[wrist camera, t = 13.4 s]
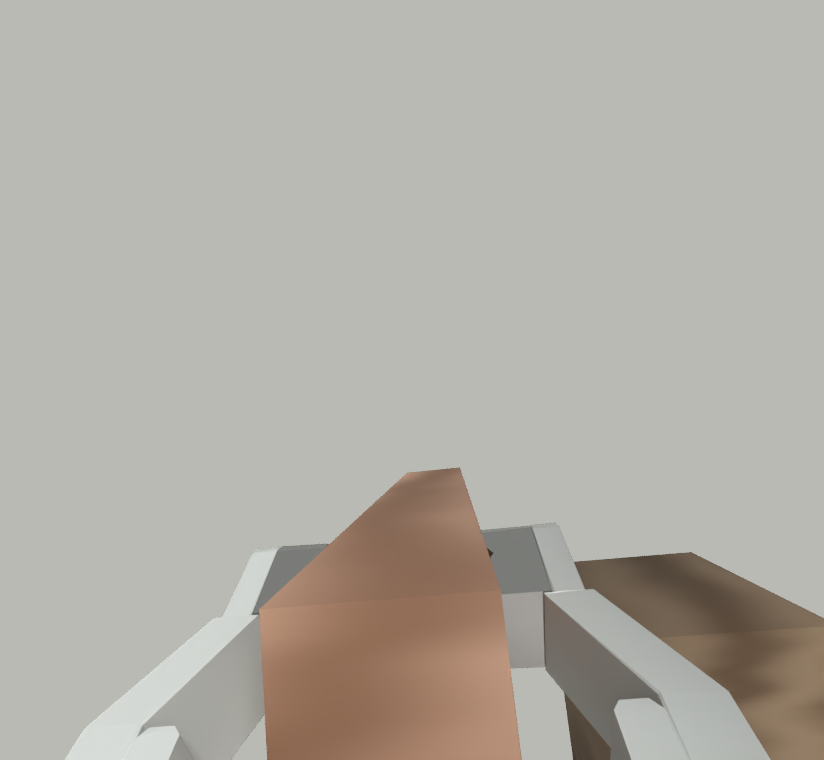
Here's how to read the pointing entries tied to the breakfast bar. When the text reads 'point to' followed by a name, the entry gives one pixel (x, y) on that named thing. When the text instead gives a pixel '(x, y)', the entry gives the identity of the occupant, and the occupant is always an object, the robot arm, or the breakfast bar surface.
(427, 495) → the slat
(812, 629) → the walnut stand
